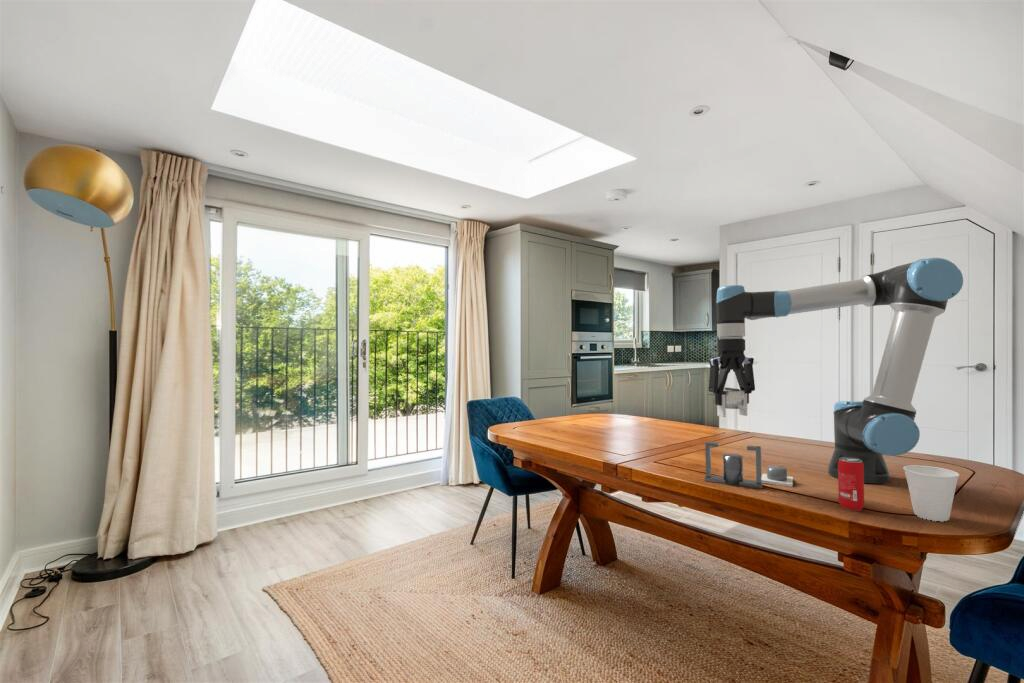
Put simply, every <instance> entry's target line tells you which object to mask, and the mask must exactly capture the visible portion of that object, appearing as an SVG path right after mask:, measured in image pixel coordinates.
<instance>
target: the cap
mask: <svg viewBox="0 0 1024 683" xmlns="http://www.w3.org/2000/svg"><path fill="white" fill-rule="evenodd" d="M723 394H724V395H725V409H731V410H733V409H734V410H739V409H742V410H747V411H748V404H747V405H745V391H744V390H740V388H735V387H734V388H732V387H724V390H723Z"/></svg>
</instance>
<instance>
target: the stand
mask: <svg viewBox="0 0 1024 683" xmlns="http://www.w3.org/2000/svg"><path fill="white" fill-rule="evenodd" d="M793 478H794V477H793V476H788V468H787V467H786V466H780V465H767V466H766V473H762V482H763V484H768V485H774V486H776V485H777V486H784V487H792V488H793V484H794V483H793V482H794V479H793Z"/></svg>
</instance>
